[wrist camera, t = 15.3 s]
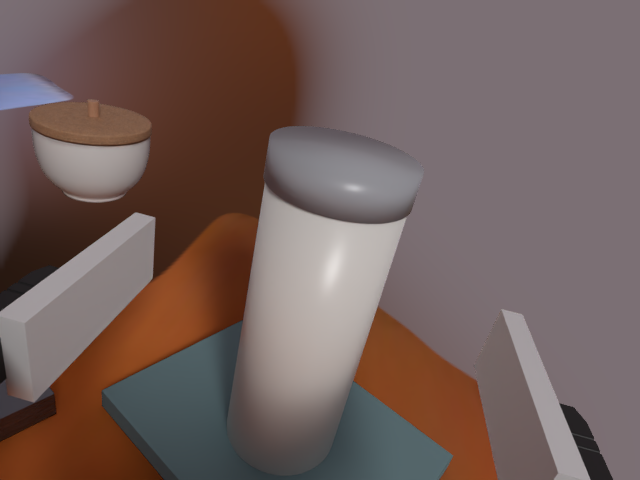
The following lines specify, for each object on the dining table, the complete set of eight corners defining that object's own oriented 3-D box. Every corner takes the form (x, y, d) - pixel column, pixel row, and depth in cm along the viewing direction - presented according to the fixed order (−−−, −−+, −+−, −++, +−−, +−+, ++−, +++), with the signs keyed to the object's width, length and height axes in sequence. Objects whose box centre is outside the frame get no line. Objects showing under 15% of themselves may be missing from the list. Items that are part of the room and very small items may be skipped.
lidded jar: (106, 164, 54) (105, 83, 50) (170, 196, 50) (175, 112, 46) (11, 183, 46) (0, 87, 41) (80, 223, 42) (76, 122, 37)
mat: (102, 405, 25) (101, 390, 25) (257, 323, 34) (260, 311, 34) (316, 660, 18) (322, 646, 17) (446, 468, 26) (453, 455, 26)
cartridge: (200, 420, 25) (236, 131, 17) (280, 368, 29) (334, 122, 22) (282, 503, 21) (367, 195, 14) (356, 430, 26) (449, 169, 19)
